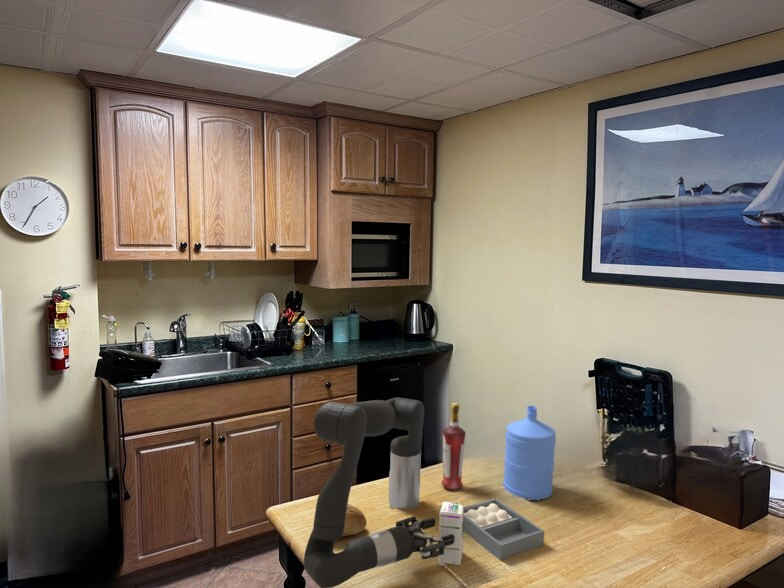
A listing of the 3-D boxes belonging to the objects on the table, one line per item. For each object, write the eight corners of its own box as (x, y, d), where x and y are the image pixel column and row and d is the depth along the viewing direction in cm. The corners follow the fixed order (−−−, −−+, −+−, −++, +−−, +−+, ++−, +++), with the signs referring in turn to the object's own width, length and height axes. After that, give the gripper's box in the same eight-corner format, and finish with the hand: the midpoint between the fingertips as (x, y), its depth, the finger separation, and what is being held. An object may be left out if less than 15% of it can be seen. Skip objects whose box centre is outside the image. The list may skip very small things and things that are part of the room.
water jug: (558, 502, 173) (563, 416, 170) (508, 501, 173) (512, 415, 170) (545, 479, 189) (550, 400, 185) (499, 478, 189) (503, 399, 185)
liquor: (438, 481, 185) (441, 401, 182) (460, 481, 186) (463, 400, 183) (443, 492, 178) (446, 408, 175) (465, 491, 179) (469, 408, 175)
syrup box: (460, 568, 139) (463, 514, 137) (437, 565, 140) (439, 511, 138) (462, 555, 144) (464, 503, 142) (439, 552, 145) (441, 500, 143)
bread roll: (371, 539, 151) (371, 511, 150) (317, 548, 146) (317, 519, 145) (361, 521, 160) (362, 494, 159) (310, 529, 155) (310, 502, 154)
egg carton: (461, 523, 158) (462, 508, 157) (493, 514, 163) (494, 499, 163) (479, 537, 151) (480, 521, 150) (511, 527, 156) (512, 512, 156)
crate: (453, 526, 158) (454, 509, 158) (494, 513, 166) (495, 498, 165) (499, 563, 141) (500, 545, 140) (543, 548, 148) (544, 530, 148)
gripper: (403, 547, 125) (461, 529, 133) (374, 517, 138) (429, 503, 145) (402, 578, 126) (460, 558, 134) (373, 545, 139) (428, 529, 146)
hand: (444, 529), depth 140 cm, fingers open, 8 cm apart
